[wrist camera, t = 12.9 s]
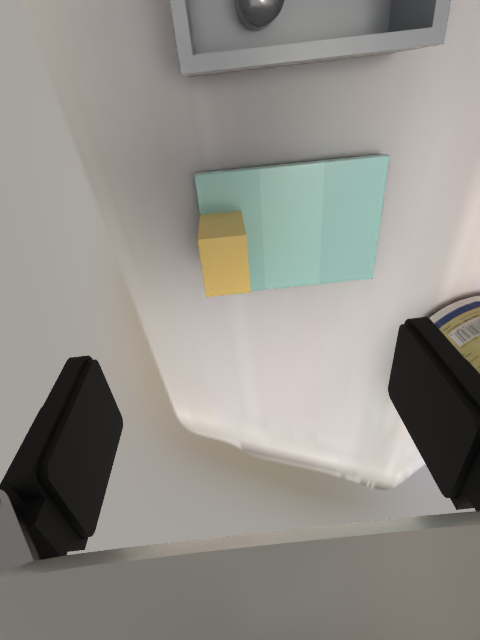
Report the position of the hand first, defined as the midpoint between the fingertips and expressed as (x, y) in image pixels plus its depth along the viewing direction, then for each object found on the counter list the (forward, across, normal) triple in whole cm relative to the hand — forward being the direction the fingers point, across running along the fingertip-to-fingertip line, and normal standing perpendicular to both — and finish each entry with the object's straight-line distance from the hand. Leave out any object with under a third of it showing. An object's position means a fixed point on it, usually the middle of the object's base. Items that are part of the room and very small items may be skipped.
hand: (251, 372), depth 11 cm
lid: (+18, -4, +2) cm, 19 cm away
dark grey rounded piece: (+18, -3, -11) cm, 22 cm away
